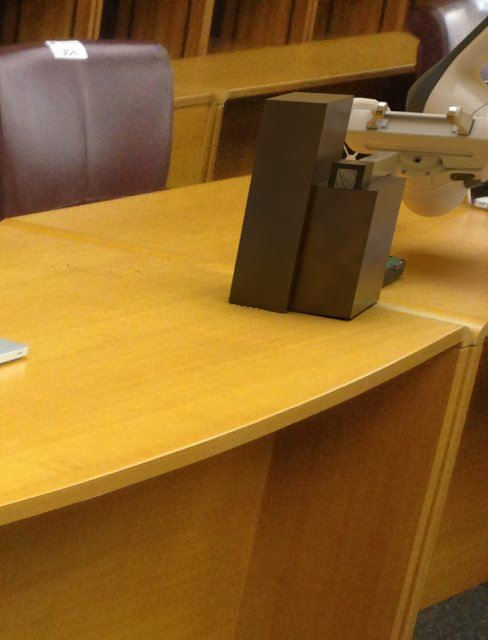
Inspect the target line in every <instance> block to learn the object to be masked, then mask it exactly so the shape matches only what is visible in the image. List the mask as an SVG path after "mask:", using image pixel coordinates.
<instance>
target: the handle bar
mask: <svg viewBox="0 0 488 640" xmlns="http://www.w3.org/2000/svg"><path fill="white" fill-rule="evenodd" d="M399 154H400V153H396V152H383V151H381V152H378V153H375V154H373V155H370V156H368V157H365V158H363V159H360V160H347V159H340V160H338V161H335V162H332V166H331V171H330V176H329V180H328V185H327V187H331V188H342V189H353V190H362V189H364V188H366V187H369V185H370V182H372V181H374V180H377V179H379V178H381V177H384V176H386V175H388V174H391V173H393V172H395V171H396V168H397V163H398V159H399Z"/></svg>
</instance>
